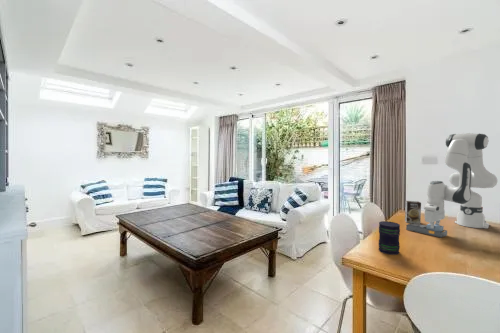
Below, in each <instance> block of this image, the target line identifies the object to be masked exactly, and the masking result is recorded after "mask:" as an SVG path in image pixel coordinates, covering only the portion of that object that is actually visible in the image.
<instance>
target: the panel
mask: <svg viewBox="0 0 500 333" xmlns="http://www.w3.org/2000/svg"><path fill="white" fill-rule="evenodd" d="M435 224H436V223H434V226H435V228H431V225H430V223H428V224H426V225H425V226H426V229H429V230H433V231H438V232H442V231H443V230H444V229H445V228H444V227H445V226H444V225H440V224H439V225H435Z"/></svg>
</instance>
